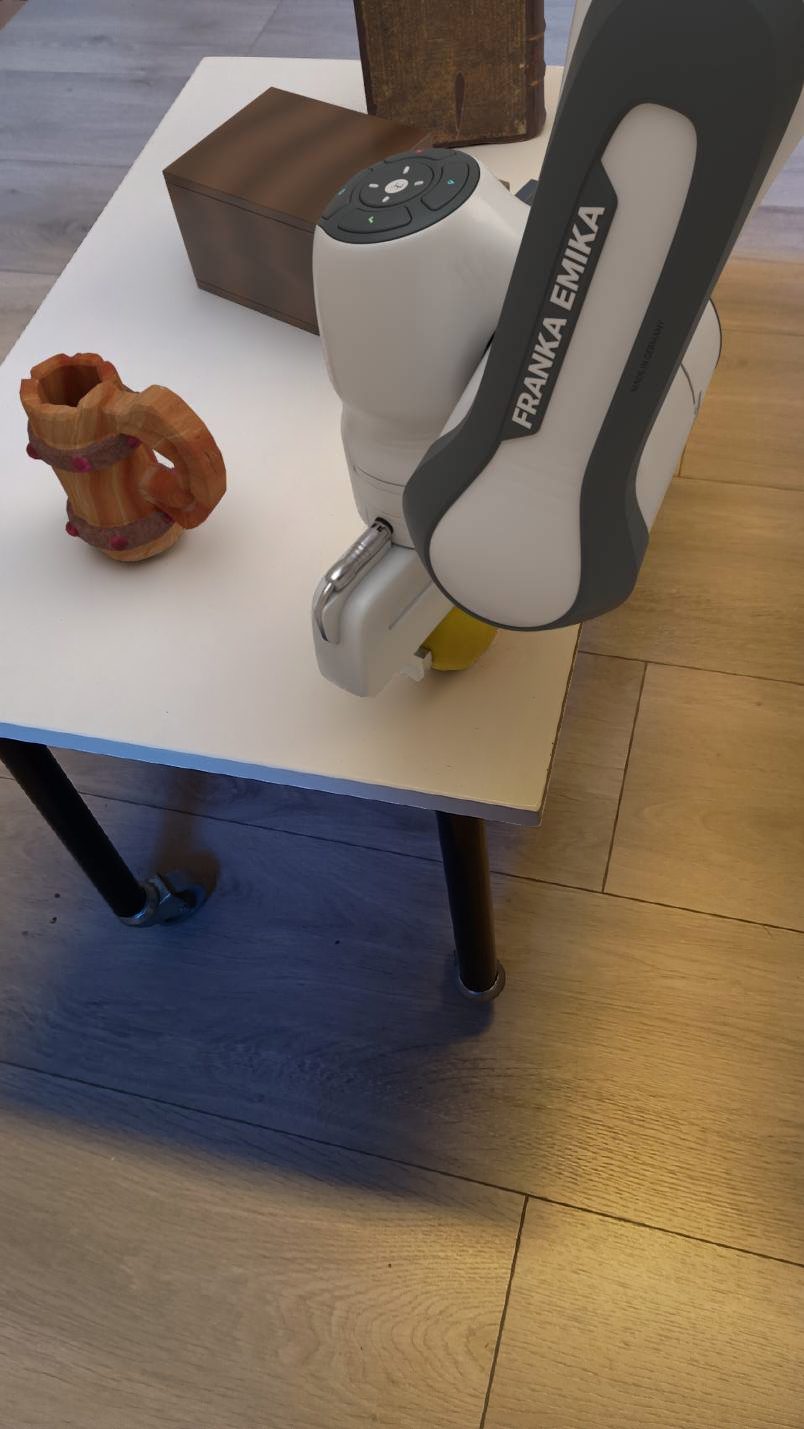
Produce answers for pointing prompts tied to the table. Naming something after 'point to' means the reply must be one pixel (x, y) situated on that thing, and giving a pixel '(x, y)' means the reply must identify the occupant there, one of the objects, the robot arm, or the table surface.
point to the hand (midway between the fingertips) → (452, 626)
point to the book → (455, 67)
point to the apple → (458, 640)
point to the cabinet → (273, 195)
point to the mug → (121, 455)
